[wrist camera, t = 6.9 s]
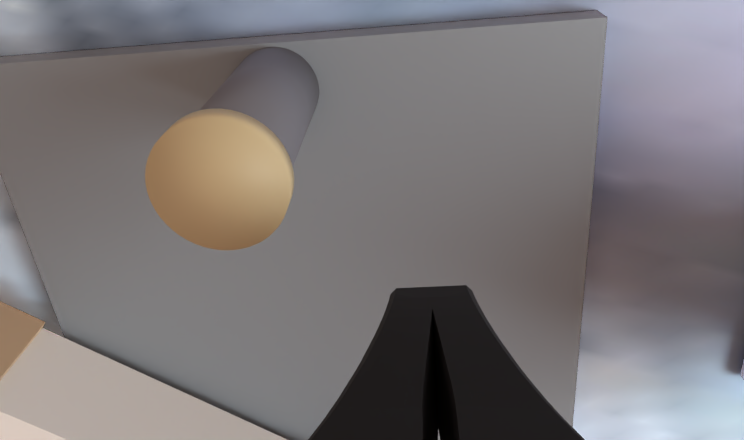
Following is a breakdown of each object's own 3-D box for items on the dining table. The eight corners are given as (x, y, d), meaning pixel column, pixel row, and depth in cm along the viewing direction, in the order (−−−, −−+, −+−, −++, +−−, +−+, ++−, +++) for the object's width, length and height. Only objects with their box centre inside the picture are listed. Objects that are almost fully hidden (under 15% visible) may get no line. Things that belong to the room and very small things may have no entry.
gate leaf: (310, 443, 24) (296, 529, 21) (288, 471, 25) (271, 557, 22) (-1, 301, 22) (-70, 374, 18) (-14, 336, 22) (-84, 412, 19)
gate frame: (597, 6, 18) (713, 84, 11) (560, 483, 26) (611, 685, 20) (-22, 54, 19) (-250, 149, 12) (141, 491, 28) (59, 681, 21)
